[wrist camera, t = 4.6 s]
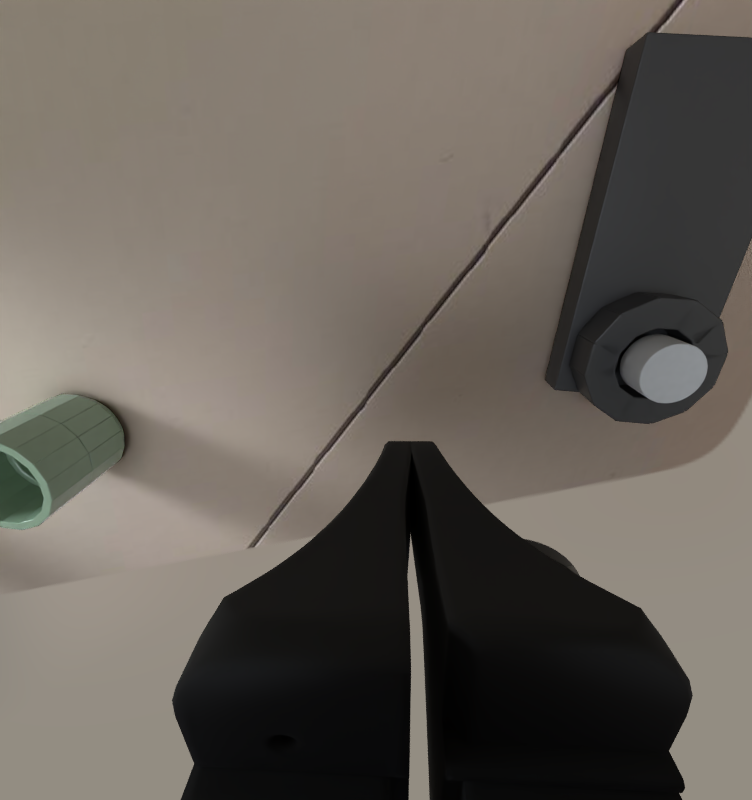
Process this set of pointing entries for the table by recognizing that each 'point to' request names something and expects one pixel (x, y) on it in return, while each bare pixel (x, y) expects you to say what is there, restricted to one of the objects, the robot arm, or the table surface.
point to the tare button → (663, 368)
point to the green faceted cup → (53, 456)
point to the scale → (661, 219)
